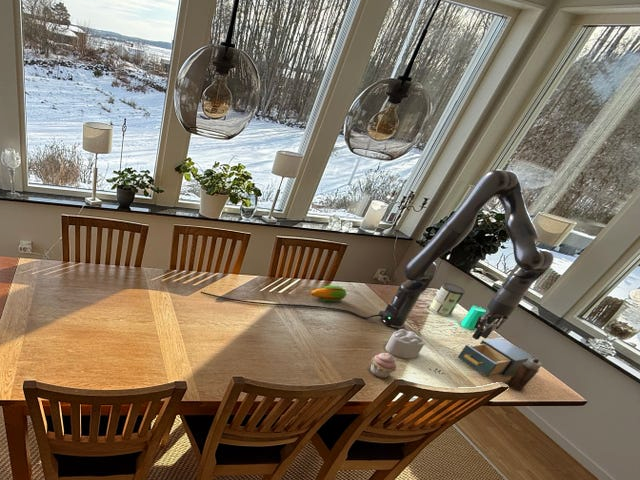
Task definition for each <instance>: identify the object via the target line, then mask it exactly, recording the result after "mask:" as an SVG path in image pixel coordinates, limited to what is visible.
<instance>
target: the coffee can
mask: <svg viewBox="0 0 640 480" xmlns="http://www.w3.org/2000/svg"><path fill="white" fill-rule="evenodd" d="M465 293H466V290H465V289H464V288H462V287H461V286H459V285H456V284H453V283H450V282H449V283H448V282H444V283H442V284H441V287H440V288H439V290H438V292H437V294H436V295H435V297H434V298H433V301H432V302H431V304H430V306H429V307H428V308H429V310H430V311H432V312H434V313H435V314H437V315H438V316H439V315H440V316H442V317H443V316H444V317H450V316H451V315H452V313H453V311H455V308H456V307H457V305H458V304H459V302H460V301H461V299H462V297H463V295H464V294H465Z"/></svg>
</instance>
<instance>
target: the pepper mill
mask: <svg viewBox="0 0 640 480" xmlns="http://www.w3.org/2000/svg"><path fill="white" fill-rule="evenodd" d="M542 365H543V363H542V362H541V361H540V359H538V358H529V359H528V360H527V361H526V362H525V363H523V364H522V365H521V366H520V368H519V369H518V370H517V371H516V372H515V374H512V376H511V377H510V378H509V380H508V381H507V382H506V385H507V384H508V385H509V386H508V385H507V386H508V387H509V388H511V389H512V390H514V391H520V392H521V391H522V390H523V389H524V388H525V387H526V386H527V385H528V384H529V383H530V381H531V380H532V379H533V378H534V377H535V376H536V375H537V373H538V372H539V371H540V368H541V367H542Z"/></svg>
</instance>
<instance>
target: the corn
mask: <svg viewBox="0 0 640 480" xmlns="http://www.w3.org/2000/svg"><path fill="white" fill-rule="evenodd" d="M310 295H311V296H312V297H315V298H318V299H317V301H321V302H340V301H342V300H343V299H344V298H345V297H347V291H346V290H345V289H344V288H343V287H342V286H338V285H324V286H322V288H316V289H313V290H311V292H310Z"/></svg>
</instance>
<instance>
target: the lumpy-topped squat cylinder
mask: <svg viewBox="0 0 640 480" xmlns="http://www.w3.org/2000/svg"><path fill="white" fill-rule="evenodd" d="M425 344H426V341H425V340H424V339H422V337H420V336H419V335H418V334H417V333H416V332H415V331H410V330H406V329H405V328H399V329H398V330H395V331H394V332H393V333H392V334H391V336H390V338H389V340H388V342H387V343H386V345H385V350H386V351H387V353H390V354H391V355H392V356H395V357H399V358H402V359H413V358H414V359H415V358H417V357H418V355H419V354H420V352H421V350H422V349H423V347H424V346H425Z"/></svg>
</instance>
